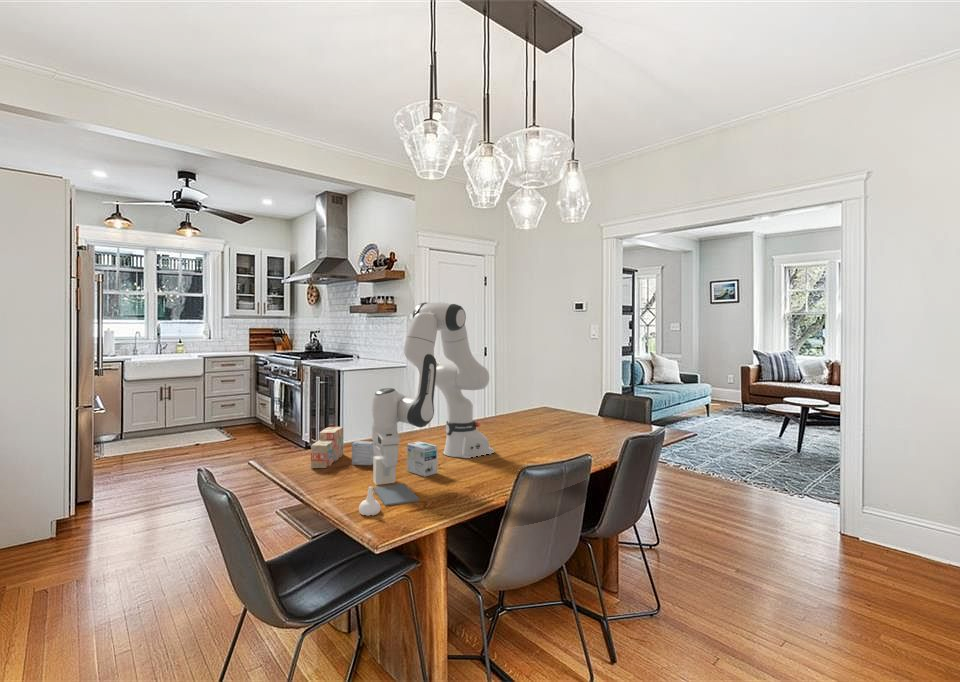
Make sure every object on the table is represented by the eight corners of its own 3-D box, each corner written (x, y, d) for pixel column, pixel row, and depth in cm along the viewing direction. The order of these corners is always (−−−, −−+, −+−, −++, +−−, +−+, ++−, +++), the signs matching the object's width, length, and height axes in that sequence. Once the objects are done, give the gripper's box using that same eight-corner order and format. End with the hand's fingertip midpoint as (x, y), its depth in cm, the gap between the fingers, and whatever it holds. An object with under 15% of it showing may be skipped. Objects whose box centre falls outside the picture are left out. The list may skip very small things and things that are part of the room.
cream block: (392, 479, 178) (392, 454, 177) (395, 482, 174) (395, 457, 174) (373, 481, 175) (373, 456, 174) (375, 485, 171) (376, 459, 171)
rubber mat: (404, 485, 171) (404, 483, 171) (419, 501, 156) (419, 499, 156) (372, 489, 167) (372, 487, 167) (385, 506, 151) (385, 504, 151)
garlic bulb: (355, 517, 144) (354, 491, 143) (364, 507, 150) (363, 482, 149) (376, 519, 143) (375, 492, 142) (383, 509, 149) (383, 484, 148)
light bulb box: (438, 473, 186) (438, 445, 185) (424, 477, 181) (424, 448, 180) (419, 467, 193) (419, 440, 192) (406, 471, 188) (406, 443, 188)
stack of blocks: (326, 469, 189) (326, 437, 189) (310, 469, 190) (310, 437, 189) (343, 454, 211) (343, 426, 210) (328, 454, 211) (328, 426, 210)
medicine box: (374, 462, 199) (374, 441, 199) (370, 465, 194) (371, 444, 194) (355, 461, 200) (355, 440, 199) (351, 465, 195) (351, 443, 195)
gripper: (369, 429, 182) (369, 466, 182) (383, 441, 163) (382, 482, 164) (386, 428, 185) (385, 464, 185) (401, 440, 166) (401, 480, 167)
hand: (384, 473), depth 174 cm, fingers closed on cream block, 4 cm apart
